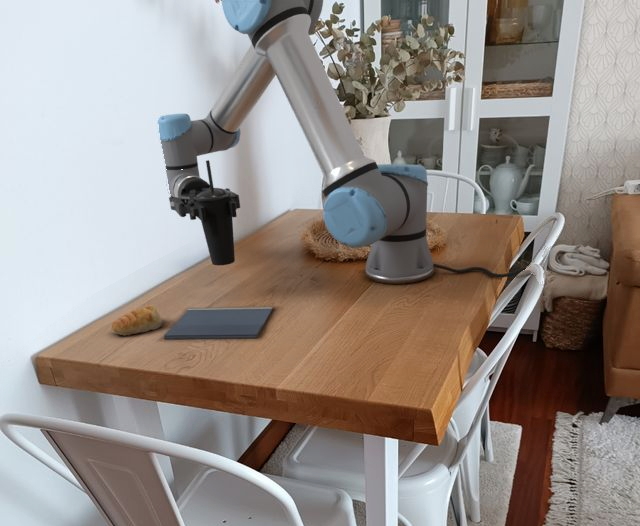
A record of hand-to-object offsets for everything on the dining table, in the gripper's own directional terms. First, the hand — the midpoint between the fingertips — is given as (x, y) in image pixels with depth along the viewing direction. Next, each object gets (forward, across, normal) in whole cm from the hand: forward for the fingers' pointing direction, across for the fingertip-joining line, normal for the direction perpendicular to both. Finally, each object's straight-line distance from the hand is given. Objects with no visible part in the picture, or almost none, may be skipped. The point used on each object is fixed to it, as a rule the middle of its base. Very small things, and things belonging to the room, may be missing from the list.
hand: (219, 212), depth 121 cm
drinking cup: (-5, 0, -11) cm, 13 cm away
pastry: (+3, +20, -19) cm, 28 cm away
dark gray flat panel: (+9, +5, -19) cm, 22 cm away
